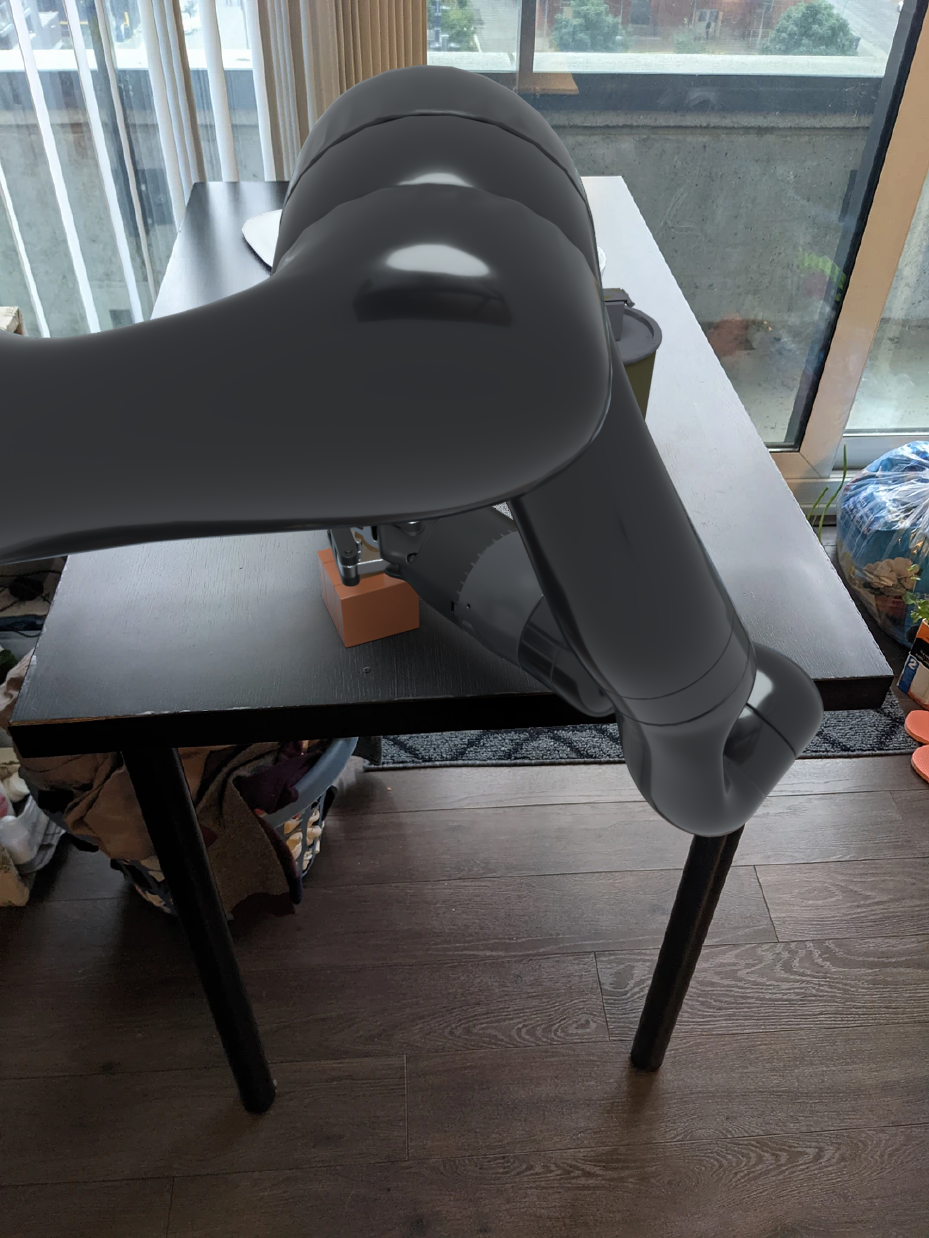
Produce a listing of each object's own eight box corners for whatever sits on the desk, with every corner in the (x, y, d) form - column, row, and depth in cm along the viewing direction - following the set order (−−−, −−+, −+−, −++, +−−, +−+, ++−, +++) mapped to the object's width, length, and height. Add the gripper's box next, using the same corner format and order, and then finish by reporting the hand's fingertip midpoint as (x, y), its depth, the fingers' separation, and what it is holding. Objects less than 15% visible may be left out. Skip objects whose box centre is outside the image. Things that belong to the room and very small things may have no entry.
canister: (614, 473, 89) (644, 263, 76) (647, 541, 82) (687, 322, 68) (500, 482, 88) (510, 270, 74) (523, 552, 80) (539, 331, 67)
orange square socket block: (345, 648, 72) (340, 599, 68) (322, 599, 76) (316, 550, 72) (419, 627, 73) (418, 578, 70) (393, 581, 77) (390, 532, 74)
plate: (228, 228, 132) (226, 216, 131) (395, 201, 141) (394, 189, 140) (288, 299, 116) (286, 285, 115) (472, 263, 124) (472, 250, 123)
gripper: (585, 492, 60) (407, 389, 69) (418, 590, 53) (244, 461, 62) (575, 582, 65) (410, 475, 74) (421, 683, 58) (260, 551, 67)
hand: (335, 470), depth 68 cm, fingers closed on stirring stick, 2 cm apart
